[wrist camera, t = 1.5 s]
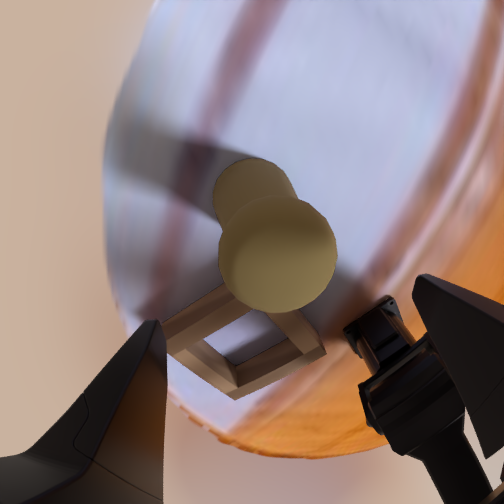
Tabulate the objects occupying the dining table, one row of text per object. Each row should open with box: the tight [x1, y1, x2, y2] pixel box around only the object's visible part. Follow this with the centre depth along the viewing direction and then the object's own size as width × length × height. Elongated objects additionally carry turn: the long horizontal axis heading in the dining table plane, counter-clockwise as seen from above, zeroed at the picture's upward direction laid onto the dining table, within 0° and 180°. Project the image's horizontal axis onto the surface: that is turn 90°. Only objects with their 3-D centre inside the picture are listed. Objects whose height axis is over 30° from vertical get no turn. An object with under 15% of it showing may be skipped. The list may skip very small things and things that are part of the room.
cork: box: [213, 158, 338, 313], centre depth 15 cm, size 6×6×11 cm
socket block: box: [162, 283, 327, 400], centre depth 25 cm, size 11×11×3 cm
